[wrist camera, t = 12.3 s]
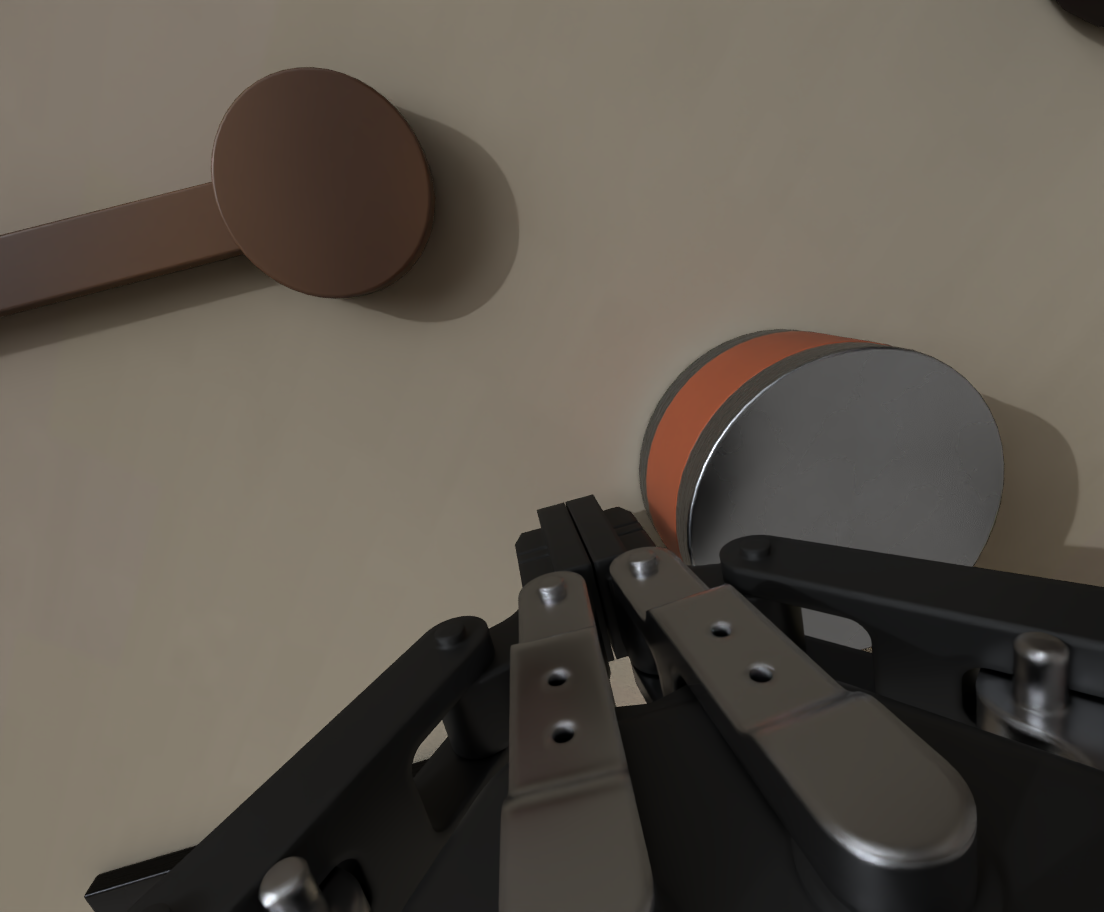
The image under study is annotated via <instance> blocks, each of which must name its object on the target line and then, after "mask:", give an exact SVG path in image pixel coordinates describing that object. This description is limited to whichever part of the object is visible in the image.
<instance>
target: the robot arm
mask: <svg viewBox="0 0 1104 912" xmlns="http://www.w3.org/2000/svg"><path fill="white" fill-rule="evenodd" d="M537 513H538V517H539V521H540V525H541V528H539V529H536V530H532V531H529V532H525V533H522V534H521V535H520V537H519V539H518V540H517V542H516V544H515V547H516V553H517V558H518V563H519V570H520V575H521V581H522V587H523V588H522V589H521V591H520V593H519V597H518V605H519V609H518V610H517V611H516V612H515V613H514V614H513V615H512V616H511V617H509V618H508V619H506V620H505V621H503V622H501V623H499V624H497V625H495V626H493V627H491V628H489V629H488V626H487V623H486V622H485V621H484V620H483V619H481V618H479V617H475V616H461V617H456V618H452V619H449V620H446V621H444V622H442V623H440V624H438V625H436V626H434V627H433V628H431V629H430V630H429V631H428V632H426V633H425V634H424V635H423V636H422V637H421V638H420V639H419V640H418V641H417V642H415V643H414V644H413V645H412V646H411V647H410V648H409V649H408V650H407V651H406V652H405V653H404V654H403V655H401V656H400V657H399V658H398V659H397V660H396V661H395V662H394V663H393V664H392V665H391V666H390V667H389V668H387V669H386V670H385V671H384V672H383V673H382V674H381V675H380V676H379V677H378V678H377V679H376V680H375V681H374V682H372V683H371V684H370V685H369V686H368V687H367V688H366V689H365V690H364V691H363V692H362V693H361V694H360V695H358V696H357V697H356V698H355V699H354V700H353V701H352V702H351V703H350V704H349V705H348V706H347V707H346V708H344V709H343V710H342V711H341V712H340V713H339V714H338V715H337V716H336V717H335V718H334V719H333V720H332V721H330V722H329V723H328V724H327V725H326V726H325V727H324V728H323V729H322V730H321V731H320V732H319V733H318V734H317V735H315V736H314V737H313V738H312V739H311V740H310V741H309V742H308V743H307V744H306V745H305V746H304V747H303V748H301V749H300V750H299V751H298V752H297V753H296V754H295V755H294V756H293V757H292V758H291V759H290V760H289V761H287V762H286V763H285V764H284V765H283V766H282V767H281V768H280V769H279V770H278V771H277V772H276V773H275V774H274V775H272V776H271V777H270V778H269V779H268V780H267V781H266V782H265V783H264V784H263V785H262V786H261V787H260V788H258V789H257V790H256V791H255V792H254V793H253V794H252V795H251V796H250V797H249V798H248V799H247V800H246V801H244V802H243V803H242V804H241V805H240V806H239V807H238V808H237V809H236V810H235V811H234V812H233V813H232V814H230V815H229V816H228V817H227V818H226V819H225V820H224V821H223V822H222V823H221V824H220V825H219V826H218V827H217V828H215V829H214V830H213V831H212V832H211V833H210V834H209V835H208V836H207V837H206V838H205V839H204V840H203V841H201V842H200V843H199V844H198V845H197V846H196V847H195V848H194V849H193V850H192V851H191V852H190V853H189V854H187V855H186V856H185V857H184V858H183V859H182V860H181V861H180V862H179V863H178V864H177V865H176V866H175V867H173V868H172V869H171V870H170V871H169V872H168V873H167V874H166V875H165V876H164V877H163V878H162V879H161V880H160V881H158V882H157V883H156V884H155V885H154V886H153V887H152V888H151V889H150V890H149V891H148V892H147V893H146V894H144V895H143V896H142V897H141V898H140V899H139V900H138V901H137V902H136V903H135V904H134V905H133V906H132V907H130V908H129V909H128V910H127V911H126V912H1104V587H1099V586H1093V585H1087V584H1080V583H1074V582H1067V581H1061V580H1054V579H1048V578H1042V577H1035V576H1029V575H1022V574H1016V573H1009V572H1003V571H997V570H990V569H984V568H977V567H971V566H964V565H958V564H951V563H945V562H939V561H932V560H926V559H919V558H913V557H906V556H900V555H894V554H887V553H881V552H874V551H868V550H861V549H855V548H849V547H842V546H836V545H829V544H823V543H816V542H810V541H804V540H797V539H791V538H784V537H778V536H771V535H750V536H744V537H740V538H737V539H734V540H732V541H730V542H728V543H727V544H725V545H724V546H723V547H722V548H721V550H720V553H719V557H720V563H718V564H708V565H686V564H685V563H684V562H683V561H682V560H681V559H680V558H679V557H678V556H677V555H676V554H675V553H673V552H672V551H671V550H669V549H666V548H662V547H656V545H655V544H654V543H653V541H652V540H651V538H650V537H649V536H648V534H647V533H646V532H645V530H643V527H642V526H641V525H640V523H639V522H638V521H637V519H636V518H635V517H634V515H633V514H632V512H630V511H627V510H625V509H622V508H620V507H615V508H611V509H608V510H604V511H603V510H602V509H601V507H600V505H599V504H598V502H597V500H596V499H595V497H594V496H593V495H589V496H586V497H582V498H578V499H575V500H571V501H567V502H566V506H565V504H564V503H560V504H557V505H553V506H549V507H546V508H542V509H538V510H537ZM801 608H806V609H810V610H814V611H818V612H822V613H827V614H831V615H835V616H839V617H843V618H847V619H850V620H853V621H855V622H856V623H858V624H859V625H861V626H862V627H863V628H864V629H865V630H866V631H867V633H868V634H869V636H870V638H871V643H872V653H870V652H866V651H863V650H859V649H855V648H851V647H848V646H844V645H840V644H837V643H833V642H829V641H826V640H822V639H818V638H814V637H811V636H807V635H805V634H804V625H803V617H802V609H801ZM610 643H611V644H610ZM611 646H612V648H613V651H614V653H615V656H616V658H617V659H619V658H623V657H626V656H629V658H630V660H631V665H632V669H633V673H634V678H635V682H636V684H637V686H638V688H639V690H640V692H641V693H642V695H643V697H644V699H645V701H646V702H647V704H641V705H631V706H621V707H616V705H615V700H614V696H613V692H612V688H611V684H610V680H609V679H610V675H611V671H610V667H609V663H608V662H609V661H613V660H614V656H613V652H612V648H611ZM441 720H443V723H444V726H445V729H446V732H447V734H448V737H447V738H446V739H445V741H444V742H443V743H442V744H441V745H440V747H439V748H438V749H437V750H436V751H435V753H434V754H433V755H432V756H431V757H430V759H429V760H428V761H427V762H426V763H425V765H424V766H423V767H422V768H421V769H420V771H419V772H418V773H417V774H416V775H415V777H414V778H413V776H412V763H413V759H414V756H415V753H416V751H417V749H418V747H419V746H420V745H421V743H422V742H423V741H424V740H425V739H426V737H427V736H428V735H429V734H430V733H431V732H432V731H433V729H434V728H435V727H436V726H437V725H438V724H439V722H440V721H441Z"/></svg>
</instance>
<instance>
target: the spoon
mask: <svg viewBox="0 0 1104 912" xmlns="http://www.w3.org/2000/svg"><path fill="white" fill-rule="evenodd" d="M211 175H212V182H209V183H205V184H201V185H197V186H193V187H189V188H185V189H181V190H177V191H173V192H169V193H165V194H161V195H157V196H153V197H150V198H146V199H142V200H138V201H134V202H130V203H126V204H122V205H118V206H114V207H110V208H106V209H102V210H98V211H94V212H90V213H86V214H82V215H78V216H75V217H71V218H67V219H63V220H59V221H55V222H51V223H47V224H43V225H39V226H35V227H31V228H27V229H23V230H19V231H15V232H11V233H7V234H3V235H0V317H3V316H7V315H11V314H15V313H19V312H23V311H26V310H30V309H34V308H38V307H42V306H46V305H50V304H53V303H57V302H61V301H65V300H69V299H73V298H77V297H81V296H84V295H88V294H92V293H96V292H100V291H104V290H108V289H111V288H115V287H119V286H123V285H127V284H131V283H135V282H139V281H142V280H146V279H150V278H154V277H158V276H162V275H166V274H169V273H173V272H177V271H181V270H185V269H189V268H193V267H197V266H200V265H204V264H208V263H212V262H216V261H220V260H224V259H227V258H231V257H235V256H239V255H243V254H244V255H245V256H246V257H247V258H248V259H249V260H250V261H251V262H252V263H253V264H254V265H255V266H256V267H257V268H259V269H260V270H261V271H262V272H264V273H265V274H266V275H267V276H269V277H271V278H272V279H274V280H275V281H277V282H278V283H280V284H282V285H284V286H286V287H288V288H290V289H293V290H295V291H298V292H301V293H304V294H307V295H312V296H317V297H323V298H349V297H355V296H361V295H366V294H370V293H373V292H376V291H379V290H381V289H383V288H385V287H387V286H389V285H391V284H393V283H394V282H396V281H397V280H398V279H400V278H401V277H402V276H403V275H405V274H406V273H407V272H408V271H409V270H410V269H411V268H412V266H413V265H414V264H415V263H416V261H417V260H418V259H419V257H420V255H421V254H422V252H423V250H424V249H425V246H426V244H427V242H428V239H429V237H430V233H431V230H432V226H433V220H434V213H435V193H434V184H433V180H432V175H431V171H430V168H429V165H428V162H427V159H426V157H425V154H424V152H423V150H422V148H421V146H420V144H419V142H418V140H417V137H416V135H415V134H414V132H413V130H412V129H411V127H410V126H409V124H408V123H407V121H406V120H405V119H404V117H403V116H402V115H401V114H400V112H399V111H398V110H397V109H396V108H395V107H394V106H393V105H392V104H391V103H390V102H389V101H388V100H387V99H386V98H385V97H384V96H382V95H381V94H380V93H378V92H377V91H376V90H374V89H373V88H372V87H370V86H368V85H367V84H365V83H363V82H361V81H360V80H358V79H356V78H353V77H351V76H349V75H346V74H344V73H340V72H337V71H333V70H329V69H322V68H314V67H303V68H293V69H287V70H282V71H279V72H276V73H273V74H270V75H268V76H266V77H264V78H262V79H260V80H258V81H256V82H255V83H254V84H252V85H251V86H250V87H248V88H247V89H245V90H244V91H243V92H242V93H241V94H240V95H239V96H238V97H237V98H236V99H235V100H234V102H233V103H232V105H231V106H230V107H229V109H228V110H227V112H226V113H225V115H224V117H223V119H222V121H221V123H220V125H219V128H218V131H217V134H216V137H215V140H214V145H213V151H212V161H211Z"/></svg>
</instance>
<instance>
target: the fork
mask: <svg viewBox="0 0 1104 912" xmlns="http://www.w3.org/2000/svg"><path fill="white" fill-rule="evenodd" d="M428 760H429V759H427V760H424V761H420V762H417V763H413V764H412V776H413V778H414V777H415V775H416V774H417V773H418V772H419V771H420V769H421V768H422V767H423V766H424V765H425V763H426V762H427V761H428ZM195 847H196V846H193V847H190V848H187V849H183V850H180V851H176V852H173V853H170V854H166V855H163V856H160V857H156V858H153V859H150V860H146V861H143V862H139V863H136V864H133V865H129V866H126V867H123V868H119V869H116V870H112V871H109V872H106V873H102V874H99V875H98V876H97V877H96V878H95V879H94V881H93V883H92V884H91V886H90V887H89V889H88V890H87V892H86V894H85V896H84V897H85V899H86V901H87V902H88V903H89V905H90V906H91V907H92V909H93V910H94V912H126V911H127V910H128V909H129V908H130V907H132V906H133V905H134V904H135V903H136V902H137V901H138V900H139V899H140V898H141V897H142V896H143V895H144V894H146V893H147V892H148V891H149V890H150V889H151V888H152V887H153V886H154V885H155V884H156V883H157V882H158V881H160V880H161V879H162V878H163V877H164V876H165V875H166V874H167V873H168V872H169V871H170V870H171V869H172V868H173V867H175V866H176V865H177V864H178V863H179V862H180V861H181V860H182V859H183V858H184V857H185V856H186V855H187V854H189V853H190V852H191V851H192V850H193V849H194V848H195Z"/></svg>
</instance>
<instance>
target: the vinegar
mask: <svg viewBox="0 0 1104 912" xmlns="http://www.w3.org/2000/svg"><path fill="white" fill-rule="evenodd" d="M1056 1H1057V2H1058V3H1059V4H1060V6H1061V7H1062V8H1063V9H1064V10H1066V11H1068V12H1070V13H1072V14H1074V15H1076V16H1078V17H1080V18H1082V19H1084V20H1086V21H1088V22H1089V23H1091V24H1093V25H1095V26H1097V27H1104V0H1056Z"/></svg>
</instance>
